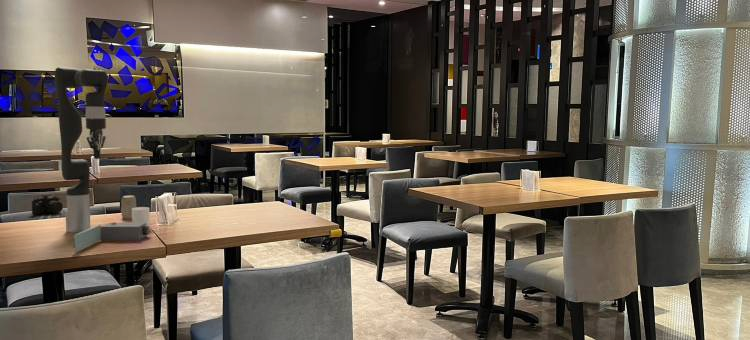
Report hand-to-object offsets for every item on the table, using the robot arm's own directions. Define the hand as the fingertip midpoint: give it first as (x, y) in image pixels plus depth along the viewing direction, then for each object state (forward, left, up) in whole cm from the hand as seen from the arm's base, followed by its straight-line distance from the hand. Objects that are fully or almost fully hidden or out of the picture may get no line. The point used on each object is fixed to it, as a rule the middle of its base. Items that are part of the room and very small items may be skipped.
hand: (97, 158), depth 238 cm
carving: (-7, +50, -35) cm, 62 cm away
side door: (+2, -3, -35) cm, 35 cm away
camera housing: (+9, +3, -35) cm, 36 cm away
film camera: (-57, +70, -35) cm, 96 cm away
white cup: (+9, +23, -35) cm, 43 cm away
